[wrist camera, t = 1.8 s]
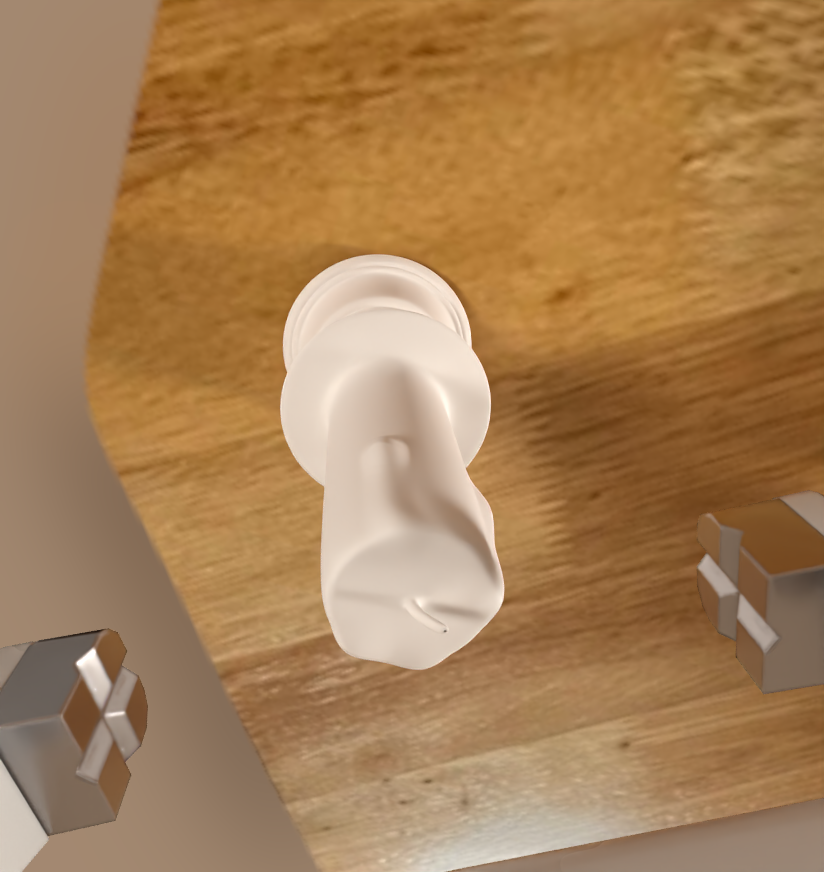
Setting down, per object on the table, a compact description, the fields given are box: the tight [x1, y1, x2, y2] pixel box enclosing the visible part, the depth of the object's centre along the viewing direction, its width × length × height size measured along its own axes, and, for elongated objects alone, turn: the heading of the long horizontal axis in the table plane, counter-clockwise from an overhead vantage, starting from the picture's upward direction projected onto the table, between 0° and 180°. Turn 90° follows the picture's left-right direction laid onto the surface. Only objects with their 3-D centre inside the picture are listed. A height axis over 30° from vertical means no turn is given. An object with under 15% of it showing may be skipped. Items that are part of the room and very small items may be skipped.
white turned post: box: [280, 254, 504, 670], centre depth 14 cm, size 5×5×12 cm
